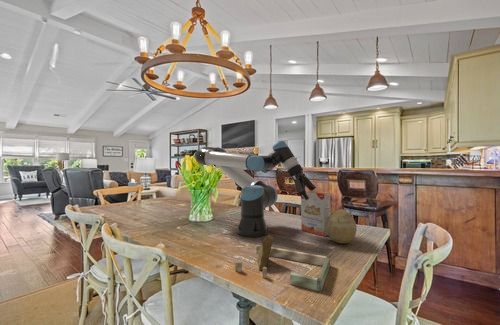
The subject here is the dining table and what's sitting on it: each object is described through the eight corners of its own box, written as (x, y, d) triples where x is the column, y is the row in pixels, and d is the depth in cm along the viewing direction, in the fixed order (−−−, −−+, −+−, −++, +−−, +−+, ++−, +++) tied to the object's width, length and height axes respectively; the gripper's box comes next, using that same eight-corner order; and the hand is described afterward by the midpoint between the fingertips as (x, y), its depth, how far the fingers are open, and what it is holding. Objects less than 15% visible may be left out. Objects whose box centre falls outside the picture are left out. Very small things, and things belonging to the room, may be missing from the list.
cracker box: (300, 230, 124) (300, 190, 123) (307, 228, 128) (306, 189, 127) (324, 237, 113) (324, 193, 112) (331, 234, 117) (330, 192, 116)
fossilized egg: (356, 249, 97) (356, 213, 97) (324, 245, 102) (324, 210, 102) (356, 240, 109) (356, 207, 109) (327, 236, 114) (327, 205, 114)
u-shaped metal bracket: (235, 271, 79) (235, 262, 79) (257, 252, 95) (257, 244, 95) (321, 291, 67) (321, 281, 67) (330, 265, 83) (330, 257, 83)
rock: (271, 267, 76) (285, 253, 84) (256, 244, 78) (271, 232, 87) (251, 279, 82) (265, 264, 90) (237, 257, 84) (253, 245, 92)
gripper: (290, 163, 111) (315, 203, 105) (306, 163, 132) (328, 196, 126) (277, 172, 114) (301, 211, 108) (295, 170, 135) (316, 202, 129)
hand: (316, 203), depth 117 cm, fingers open, 13 cm apart
